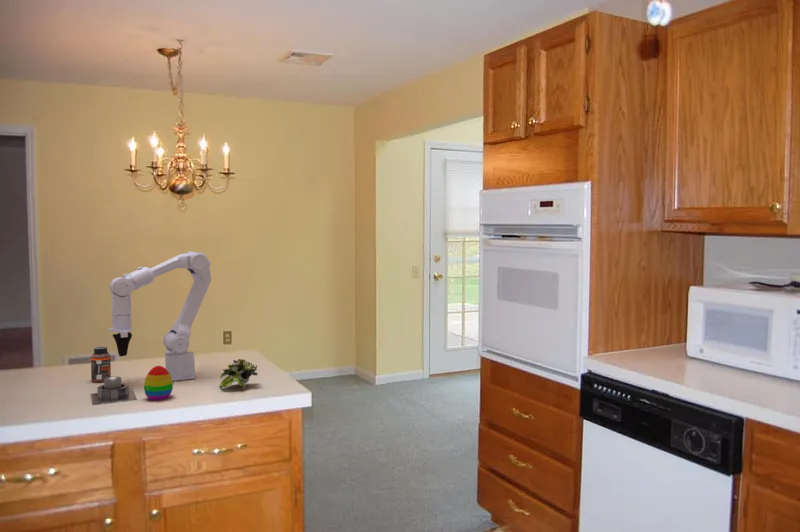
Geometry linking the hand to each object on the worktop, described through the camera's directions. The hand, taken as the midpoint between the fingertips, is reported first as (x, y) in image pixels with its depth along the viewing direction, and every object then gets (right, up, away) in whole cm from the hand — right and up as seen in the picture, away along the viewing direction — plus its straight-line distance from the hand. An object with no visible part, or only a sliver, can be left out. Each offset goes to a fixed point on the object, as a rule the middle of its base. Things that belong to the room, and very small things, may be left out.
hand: (122, 355), depth 205 cm
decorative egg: (+17, -11, -13) cm, 24 cm away
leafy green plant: (+38, -11, -1) cm, 40 cm away
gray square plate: (+3, -11, -13) cm, 17 cm away
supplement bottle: (-10, -10, +7) cm, 15 cm away
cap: (+3, -11, -13) cm, 17 cm away
